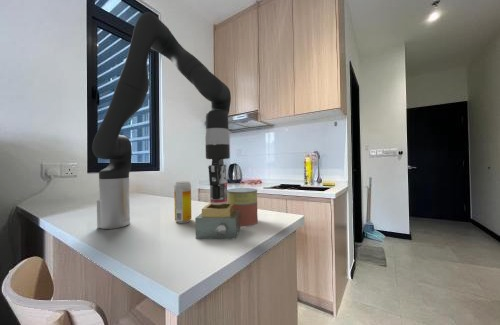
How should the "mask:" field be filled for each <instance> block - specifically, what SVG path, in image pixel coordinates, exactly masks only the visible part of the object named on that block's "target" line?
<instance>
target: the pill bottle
mask: <svg viewBox="0 0 500 325" xmlns="http://www.w3.org/2000/svg"><path fill="white" fill-rule="evenodd" d="M224 177H225V173H223V174H222V179H221V181H220V199H213V192H212V186H211V185H210V184H209V194H210V195H209V197H210V198H209V199H210V200H209V201H210V203H211V204H213V205H223V204H226V203H227V190H228V181H227V179H226V180H225V179H224ZM214 181H216V180H214Z"/></svg>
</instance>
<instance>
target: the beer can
mask: <svg viewBox="0 0 500 325" xmlns="http://www.w3.org/2000/svg"><path fill="white" fill-rule="evenodd" d="M173 188H174V192H173V193H174V199H173V200H174V221H175V222H176V223H177V224H184V223H189V222H190V221H191V220H192V185H191V182H190V181H188V180H187V181H175V183H174V185H173Z"/></svg>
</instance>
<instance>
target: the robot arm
mask: <svg viewBox="0 0 500 325" xmlns="http://www.w3.org/2000/svg"><path fill="white" fill-rule="evenodd" d="M128 48H129V49H128V53H127V55H126V59H125V62H124V65H123V68H122V70H121V73H120V76H119V78H118V81H117V83H116V86H115V89H114V92H113V95H112V98H111V100H110V103H109V106H108V108H107V111H106V114H105V115H104V118H103V120H102V121H101V124H100V126H99V128H98V129H97V132H96V134H95V135H94V138H93V141H92V143H91V144H92V145H91V150H92V152H93V155H94V156H95V157H96V158H98V159H100V160H109V164H108V165H107V166H106V167H105V168H103V169H101V170H100V171H99V172H98V188H99V189H98V190H99V191H98V196H99V197H98V198H99V199H98V200H96V221H97V222H96V223H97V224H96V225H97V226H96V227H97V228H98V229H102V230H110V229H111V230H113V229H118V228H123V227H126V226H128V225H130V224H131V215H130V214H131V212H130V210H131V206H130V205H131V204H130V203H131V202H130V172H131V170H132V158H133V152H132V151H133V148H132V142H131V140H130V139H129V137H128V136H126V135H123V134H122V135H121V134H120V133H121V131H122V129H123V127H124V125H125V124H126V123H127V122H128V120H129V119H130V118H132V117H133V116H134V115H135V114H136V113H137V112H138V111H139V110H140V109H142V106H143V104H144V103H145V100H146V97H147V95H148V91H149V87H150V85H149V84H150V80H149V73H148V72H149V70H148V59H149V58H148V57H149V54H150V51H151V50H153V51H155V52H158V53H159V54H160V55H162V56H164V57H165V58H167V59H168V60H170V62H171V63H172V64H173V65H174V66H175V67H176V69H177V70H178V72H179V73H181V75H182V76H183V77H185V79H187V80H188V82H190V83H191V85H193V86H194V87H195V90H197V91H198V93H199V94H200V95H201V96H203V98H205V99H206V100H207V101H209V102H211V105H210V110H208V111H207V112H206V114H205V136H204V137H205V139H204V140H205V159H207V160H211V165H210V164H209V165H208V166H207V168H208V177H209V178H208V180H209V186H210V185H211V186H212V192H213V199H220V181H221V179H222V174H223V173H225V177H224V179H225V180H226V181H227V178H226V177H227V175H226V174H227V173H226V172H227V164H225V163H224V160H228V159H230V157H231V155H230V154H231V151H230V150H231V149H230V147H231V146H230V133H229V132H230V131H229V112H230V107H231V102H232V96H231V91H230V88H229V87H228V85H227V84H225V83H224V82H223V81H221V79H220V78H218V77H217V75H215V74H213V73H212V72H211V71H210V70H209V69H208V67H206V65H204V63H202V61H200V60H199V59H198V58H196V56H195V55H193V54H192V53H190V52H189V51H188V50H186V49H185V48H184V47H183V46H182V45H181V43H179V41H178V40H177V39H176V38H175V36H174V34H173V33H172V31H171V30H170V29H169V27H168V26H167V25H166V24H165V23H164V22H163V21H162V20H160V18H158V17H157V16H156V15H155V14H154V13H152V12H150V11H147V12H143V13H141V15H140V16H139V17H138V18H137V20H136V22H135V25H134V28H133V32H132V37H131V41H130V44H129V47H128ZM214 180H216V181H214Z"/></svg>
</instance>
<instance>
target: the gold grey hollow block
mask: <svg viewBox="0 0 500 325" xmlns="http://www.w3.org/2000/svg"><path fill="white" fill-rule="evenodd" d="M194 219H195V224H194V225H195V239H220V240H221V239H222V240H223V239H227V240H228V239H229V240H231V239H233V240H236V239H237V238H238V234H239V232H240V231H241V227H240V210H234V203H226V204H223V205H213V204H211V203H208V204H207V205H205V206H204V207H203V208H201V213H200V214H198V215H197V216H196V217H195V218H194Z"/></svg>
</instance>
